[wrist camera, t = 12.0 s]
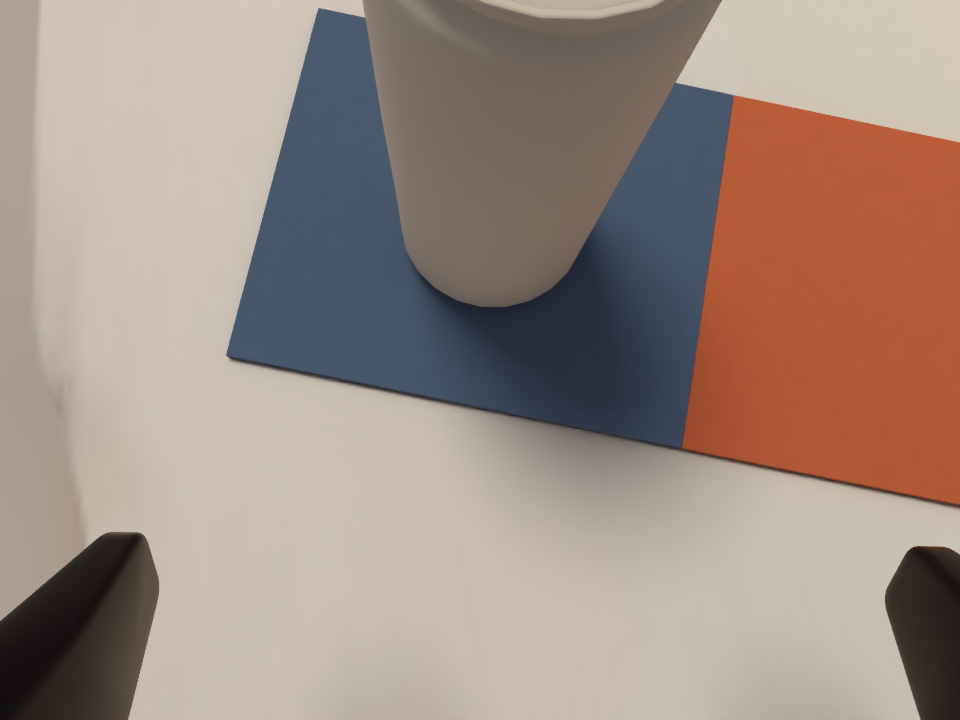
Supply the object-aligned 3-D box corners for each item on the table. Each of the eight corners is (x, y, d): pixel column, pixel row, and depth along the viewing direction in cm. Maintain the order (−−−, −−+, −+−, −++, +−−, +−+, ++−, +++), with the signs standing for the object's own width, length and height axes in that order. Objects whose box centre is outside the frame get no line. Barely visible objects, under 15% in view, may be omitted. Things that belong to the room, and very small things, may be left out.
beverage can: (441, 341, 19) (440, 96, 7) (372, 176, 20) (271, -285, 8) (610, 273, 20) (860, -54, 8) (537, 116, 20) (668, -401, 9)
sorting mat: (1137, 183, 21) (1143, 180, 21) (1123, 539, 19) (1130, 539, 19) (319, 12, 21) (318, 7, 21) (228, 356, 19) (225, 355, 19)
